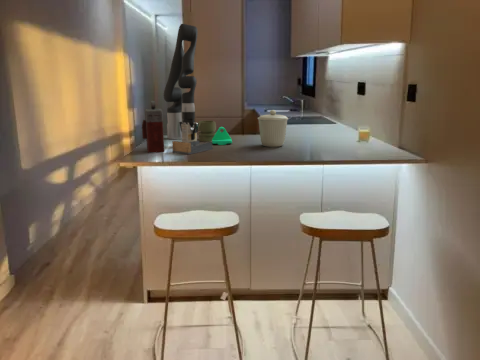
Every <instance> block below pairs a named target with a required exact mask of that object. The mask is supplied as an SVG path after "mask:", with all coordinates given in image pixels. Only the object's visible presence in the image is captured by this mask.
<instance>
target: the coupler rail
mask: <svg viewBox="0 0 480 360" xmlns="http://www.w3.org/2000/svg"><path fill="white" fill-rule="evenodd" d="M213 149H214V148H213V143H212V141H208V142H204V143H201V141H199V140H197V141H192V142H182V141H179V140H178V141H177V140H173V141H172V152H173V153H175V154H184V155H192V154H196V153H197V154H198V153H201V152H205V151H210V150H213Z"/></svg>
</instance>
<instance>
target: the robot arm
mask: <svg viewBox="0 0 480 360" xmlns="http://www.w3.org/2000/svg"><path fill="white" fill-rule="evenodd" d="M198 31H199V30H198V27H197V26H195V25H191V24H187V23H180V25H179V27H178V30H177V36H176V43H175V49H174V53H173V57H172V61H171V65H170V71H169V74H168V77H167V81H166V83H165V87H164V90H163V99H164V100H163V101H165V102H167V103H172V105H171V106H169V107H168V108H167V109H166V112H167V113H166V116H167V124H166V134H167V135H166V137H167V139H168V140H182V126H181V125H183V124H188V125H191V126H190V130H191V140H194V139H195V133H199V131H198V126H199V122H196V121H195V120H196V119H195V118H196V107H195V91H196V88H197V87H196V86H197V81H198V80H197V78H196V77H195V76H193V75H192V74H194V70H195V54H196V48H197V41H198V35H199V34H198V33H199V32H198ZM183 41H186V42H189V43H190V45H189V47H188V49H187V50H186V51H184V47H183ZM176 84H178V85H177V86H178V87H175V86H176ZM182 89H183V90H184V89H189V91H186V92H182ZM192 127H193V128H192Z"/></svg>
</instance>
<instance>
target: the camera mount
mask: <svg viewBox="0 0 480 360" xmlns="http://www.w3.org/2000/svg"><path fill="white" fill-rule="evenodd" d="M221 130H223V131H221ZM215 132H216V134H215V135H214V137H213V139H212V141H211V142H212V145H213V144H217V145H218V146H226V145H227V144H233V140H232V137H231V136H230V135H229V134H230V133H228V132H227V130H226V128H225V127H223V126H220V127H218V128H217V129H216V131H215Z"/></svg>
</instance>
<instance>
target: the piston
mask: <svg viewBox="0 0 480 360" xmlns="http://www.w3.org/2000/svg"><path fill="white" fill-rule="evenodd" d="M198 123H199V126H198V141H200V142H204V143H207V142H212V139H213V137H214V135H215V134H216V132H217V124H216V123H217V122H216V121H214V120H199V121H198Z"/></svg>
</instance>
